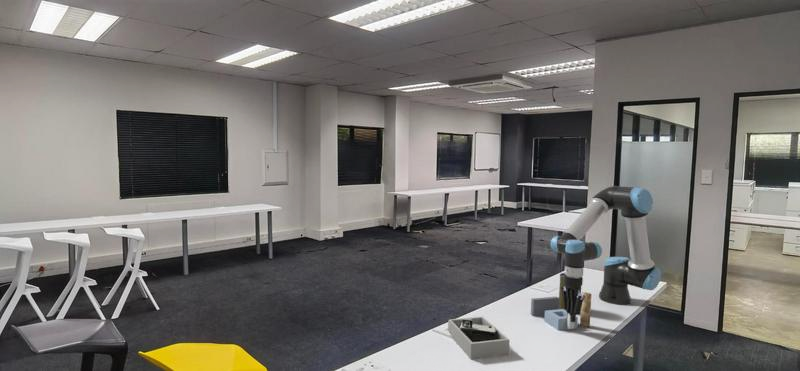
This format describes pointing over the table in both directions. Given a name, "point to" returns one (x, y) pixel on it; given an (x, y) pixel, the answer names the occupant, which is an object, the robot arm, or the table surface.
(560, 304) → the canister
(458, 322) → the tray
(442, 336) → the table surface
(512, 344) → the table surface
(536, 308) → the wall
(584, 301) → the dowel
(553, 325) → the block
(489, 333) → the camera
